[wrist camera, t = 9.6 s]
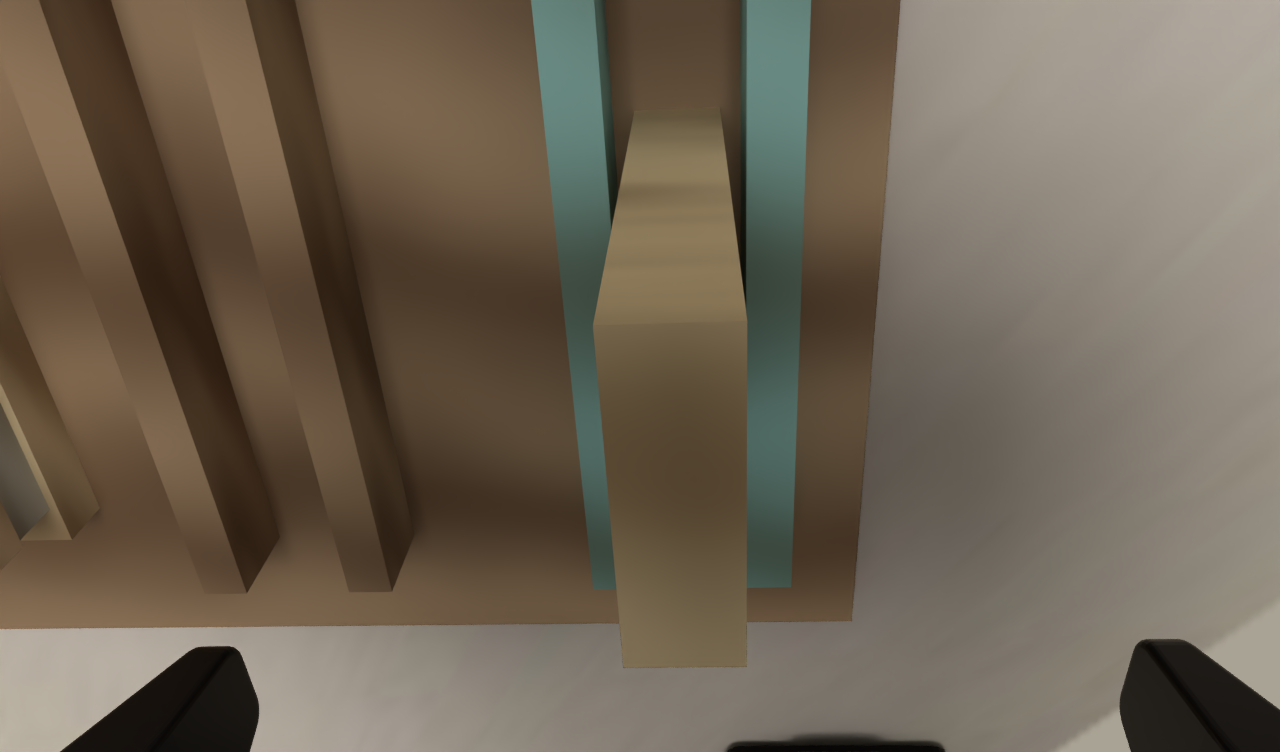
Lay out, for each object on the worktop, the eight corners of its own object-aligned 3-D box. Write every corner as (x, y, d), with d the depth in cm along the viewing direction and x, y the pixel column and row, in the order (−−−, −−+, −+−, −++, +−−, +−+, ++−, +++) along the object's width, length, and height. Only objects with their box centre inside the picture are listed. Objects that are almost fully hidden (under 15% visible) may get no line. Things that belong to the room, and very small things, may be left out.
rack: (845, 593, 24) (864, 682, 22) (-20, 603, 26) (-99, 687, 23) (915, -363, 15) (965, -407, 12) (-487, -256, 16) (-712, -275, 14)
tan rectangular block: (722, 343, 20) (746, 666, 12) (647, 345, 20) (623, 668, 12) (720, 107, 17) (747, 320, 10) (634, 110, 17) (592, 326, 10)
